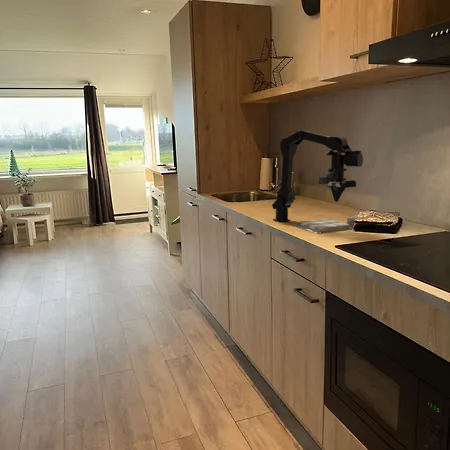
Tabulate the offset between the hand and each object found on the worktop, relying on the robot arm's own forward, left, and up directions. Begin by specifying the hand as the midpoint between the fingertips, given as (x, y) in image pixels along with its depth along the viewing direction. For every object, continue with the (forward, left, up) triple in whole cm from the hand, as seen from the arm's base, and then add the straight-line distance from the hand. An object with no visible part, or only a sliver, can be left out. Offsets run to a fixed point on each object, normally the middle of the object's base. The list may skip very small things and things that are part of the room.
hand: (336, 201), depth 185 cm
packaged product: (-2, +16, -13) cm, 20 cm away
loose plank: (-4, -6, -12) cm, 14 cm away
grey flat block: (-4, +2, -12) cm, 13 cm away
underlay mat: (-4, -5, -12) cm, 13 cm away
